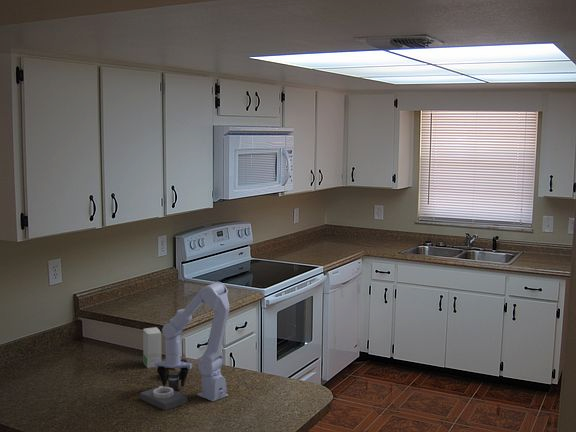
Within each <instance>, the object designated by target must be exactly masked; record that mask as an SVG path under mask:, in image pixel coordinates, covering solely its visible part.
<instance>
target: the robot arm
mask: <svg viewBox="0 0 576 432" xmlns="http://www.w3.org/2000/svg"><path fill="white" fill-rule="evenodd" d="M228 293H229V289H228V288H227V287H226V285H225V284H224V283H223V282H221V281H215V282H213V283H211V284H209V285H206V286H205V285H204V286H203V287H202V288H201V290H199V291H197V293H196V295H195V296H194V297H193V298H192V300H191V301H190V302H189V303H188V305H187V306H186V307H185V308H180V309H178V310H176V311H175V313H176V314H175V315H174V316H173V317H171V318H170V319H169V322H168V323H165V324H164V325H163V327H162V328H161V334H162V336H163V337H164V338H165V340H164V341H165V342H164V343H165V344H164V345H165V346H164V347H165V360H161V361H156V362H155V367H154V368H157V370H156V372H157V373H158V375H159V378H160V379H161V382H162V386H164V387H166V385H167V381H168V380H167V374H166V370H167V368H175V369H179V368H182V369H180V370H179V374H180V375H181V376H180V375H179V376H180V386H181V388H183V387H184V386H185V385H186V378H187V376H188V374H189V371H190V370H191V369H192V368H193V366H192V362H188V361H187V362H188V363H187V362H182V361H180V360H181V334H183V331H184V328H185V327H186V326H188V324H189V323H190V322H191V320H192V318H193V316H192V315H193V314H194V312H196V311H197V309H199V307H201V305H202V304H204V303H205V304H206V305H207V306H209V307H210V308H211V309H212V310H213V317H212V322H211V325H210V326H211V327H210V333H209V337H208V341H207V345H206V346H207V347H206V349H205V350H204V353H202V356H201V359H200V361H199V362H198V364H197V368H198V371H199V373H200V374H201V375H200V376H201V392H198V393H197V396H198V397H201V398H204V399H207V400H208V401H211V402H215V401H218V400H220V399H223V398H225V397H226V398H227V397H228V396H229V394H228V393H227V379H226V378H225V377H224V376H223V375H222V373H221V369H222V367H223V366H224V357H223V356H224V352H223V351H222V346H223V341H224V336H225V333H226V326H227V322H228V319H229V314H230V306H231V305H230V302H229V297H228Z"/></svg>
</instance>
